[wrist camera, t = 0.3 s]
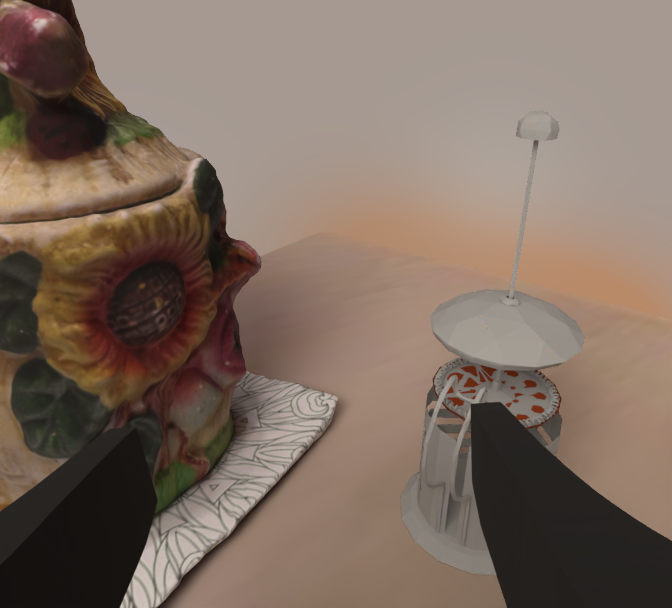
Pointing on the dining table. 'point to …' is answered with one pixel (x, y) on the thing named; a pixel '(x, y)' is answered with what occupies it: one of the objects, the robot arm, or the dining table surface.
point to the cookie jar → (126, 305)
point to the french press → (485, 393)
